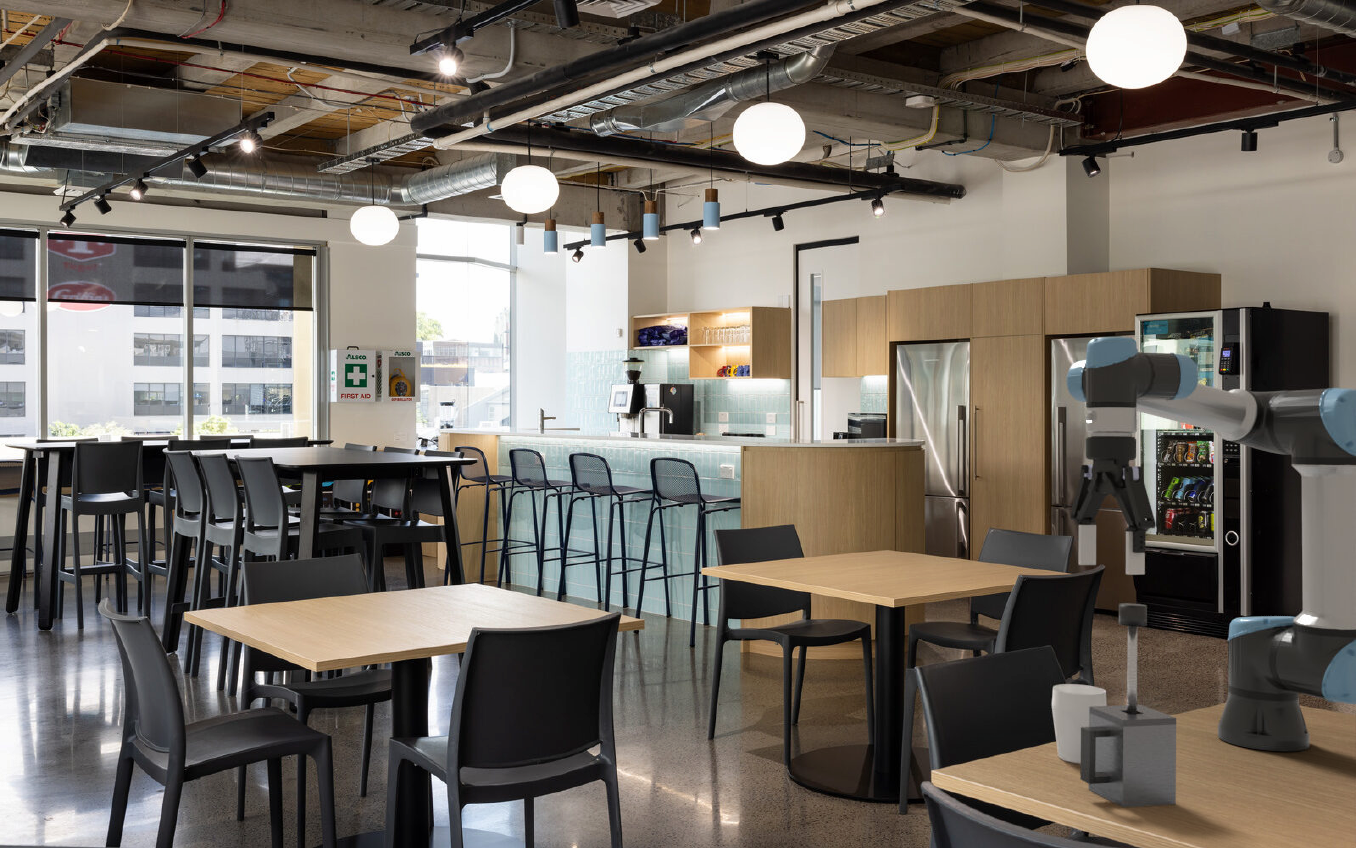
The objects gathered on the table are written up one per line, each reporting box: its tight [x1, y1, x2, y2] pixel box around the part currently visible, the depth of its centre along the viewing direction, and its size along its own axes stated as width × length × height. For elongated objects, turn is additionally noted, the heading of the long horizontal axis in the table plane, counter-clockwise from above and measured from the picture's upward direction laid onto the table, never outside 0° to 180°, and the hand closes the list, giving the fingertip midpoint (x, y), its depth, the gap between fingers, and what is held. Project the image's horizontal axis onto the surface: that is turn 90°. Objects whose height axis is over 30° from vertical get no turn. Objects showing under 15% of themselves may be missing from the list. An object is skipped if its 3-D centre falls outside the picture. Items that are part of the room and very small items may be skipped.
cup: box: [1051, 683, 1108, 765], centre depth 199 cm, size 9×9×12 cm
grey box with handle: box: [1080, 704, 1177, 808], centre depth 177 cm, size 12×9×13 cm
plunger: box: [1118, 602, 1148, 714], centre depth 178 cm, size 6×6×20 cm
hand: (1110, 569), depth 182 cm, fingers open, 13 cm apart
